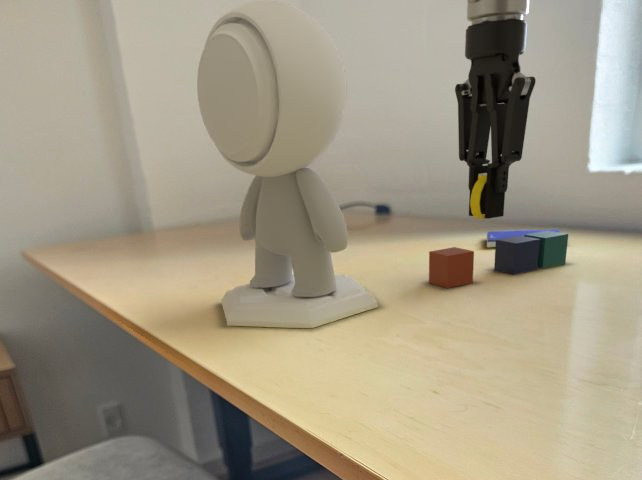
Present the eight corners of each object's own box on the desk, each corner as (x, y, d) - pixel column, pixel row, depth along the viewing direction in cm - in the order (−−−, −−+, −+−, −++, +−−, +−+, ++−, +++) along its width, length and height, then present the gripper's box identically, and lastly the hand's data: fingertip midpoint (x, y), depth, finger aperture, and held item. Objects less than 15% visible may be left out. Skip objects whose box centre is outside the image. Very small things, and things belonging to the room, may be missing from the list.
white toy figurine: (187, 313, 91) (139, 14, 75) (312, 279, 104) (294, 17, 88) (274, 340, 77) (238, -20, 61) (407, 297, 90) (405, -11, 74)
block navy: (516, 265, 102) (519, 235, 100) (537, 269, 99) (540, 239, 97) (493, 269, 101) (495, 239, 99) (513, 274, 97) (516, 243, 95)
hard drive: (487, 239, 115) (562, 236, 112) (487, 230, 122) (557, 228, 119) (487, 248, 116) (561, 246, 113) (486, 239, 123) (556, 237, 120)
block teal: (544, 259, 104) (546, 230, 102) (565, 264, 101) (568, 233, 98) (521, 264, 103) (524, 234, 101) (542, 268, 99) (545, 238, 97)
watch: (481, 223, 91) (484, 177, 88) (464, 221, 93) (466, 176, 90) (505, 215, 95) (508, 171, 92) (488, 213, 97) (491, 170, 94)
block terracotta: (453, 277, 98) (454, 246, 96) (472, 283, 94) (474, 251, 92) (428, 282, 97) (429, 251, 94) (447, 288, 93) (447, 256, 91)
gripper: (434, 30, 88) (431, 213, 99) (516, 11, 75) (502, 225, 86) (479, 29, 91) (471, 207, 102) (566, 10, 78) (546, 218, 89)
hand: (485, 215), depth 94 cm, fingers closed on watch, 3 cm apart
